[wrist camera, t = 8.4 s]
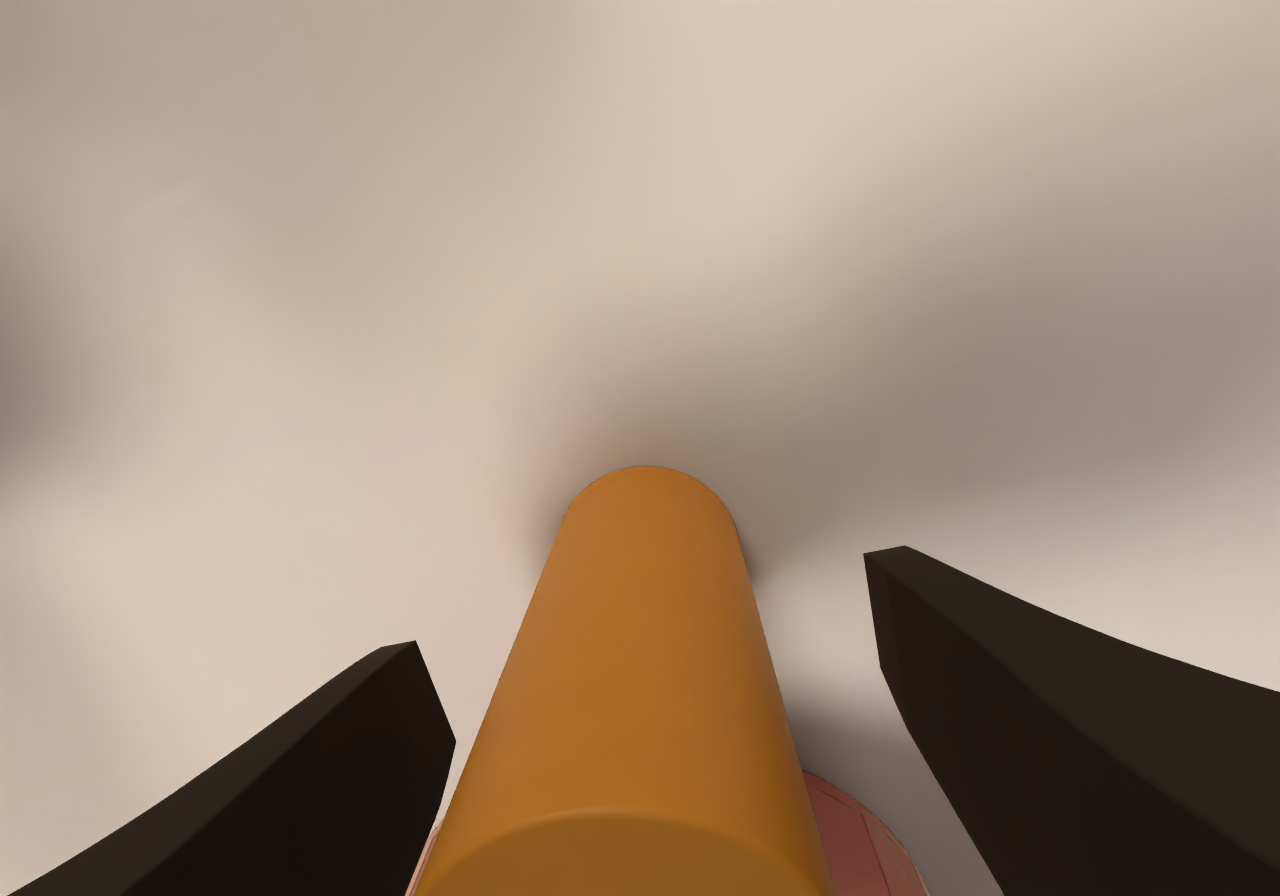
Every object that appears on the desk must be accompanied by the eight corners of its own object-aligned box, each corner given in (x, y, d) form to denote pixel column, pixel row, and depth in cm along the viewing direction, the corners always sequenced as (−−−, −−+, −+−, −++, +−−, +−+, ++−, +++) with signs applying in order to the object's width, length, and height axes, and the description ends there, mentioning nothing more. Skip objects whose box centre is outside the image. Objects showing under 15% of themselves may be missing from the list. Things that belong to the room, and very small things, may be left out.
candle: (775, 555, 13) (952, 1008, 5) (644, 658, 13) (618, 1180, 6) (652, 427, 12) (629, 722, 4) (521, 544, 13) (304, 969, 5)
